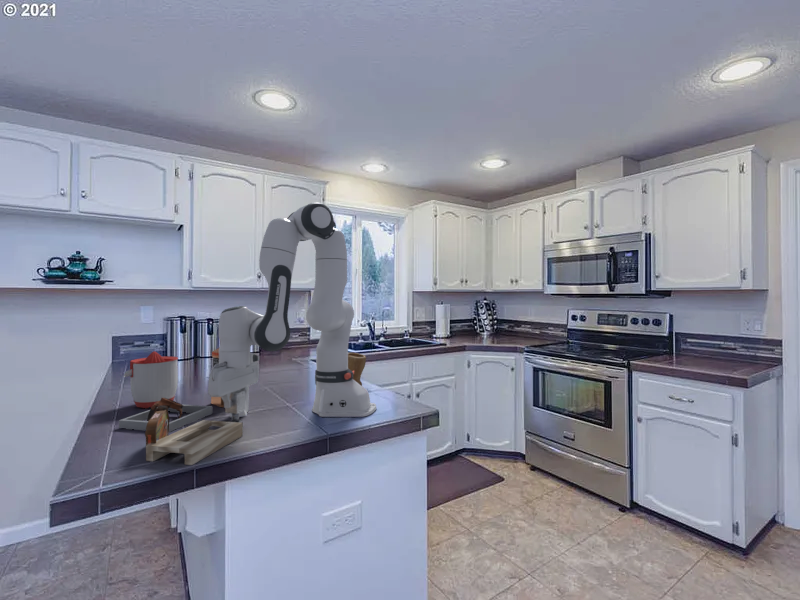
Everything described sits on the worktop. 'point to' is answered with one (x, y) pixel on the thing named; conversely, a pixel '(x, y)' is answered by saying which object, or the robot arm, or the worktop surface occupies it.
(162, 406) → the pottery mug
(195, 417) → the grey flat square frame
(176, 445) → the keyhole plate
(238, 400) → the peg
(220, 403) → the whiskey bottle
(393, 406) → the worktop surface
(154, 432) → the tin
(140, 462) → the worktop surface
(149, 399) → the citrus juicer
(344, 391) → the robot arm
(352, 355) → the tan flared vase
